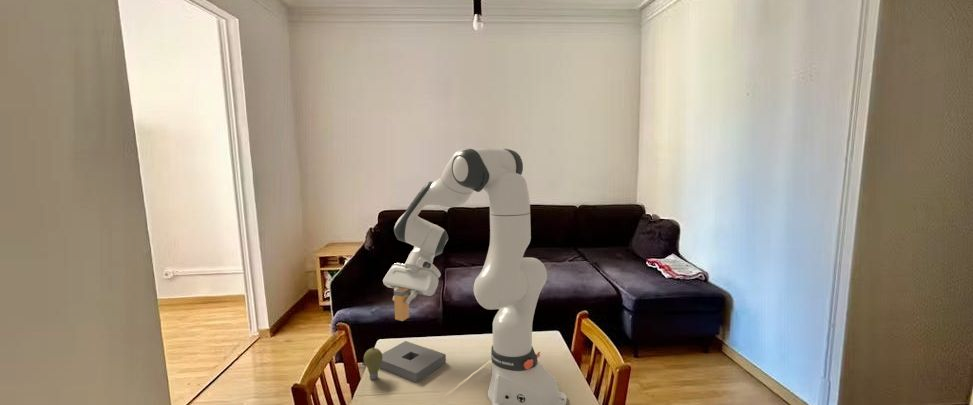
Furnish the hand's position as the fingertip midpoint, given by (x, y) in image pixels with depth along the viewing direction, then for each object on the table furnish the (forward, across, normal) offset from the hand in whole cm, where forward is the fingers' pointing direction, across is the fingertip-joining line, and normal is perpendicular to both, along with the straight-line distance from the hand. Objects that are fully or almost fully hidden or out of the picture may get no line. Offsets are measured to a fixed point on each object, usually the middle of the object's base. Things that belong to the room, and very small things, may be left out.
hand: (400, 302), depth 142 cm
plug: (+4, 0, +5) cm, 6 cm away
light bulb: (+25, +2, +3) cm, 25 cm away
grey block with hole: (+16, +7, +11) cm, 21 cm away
